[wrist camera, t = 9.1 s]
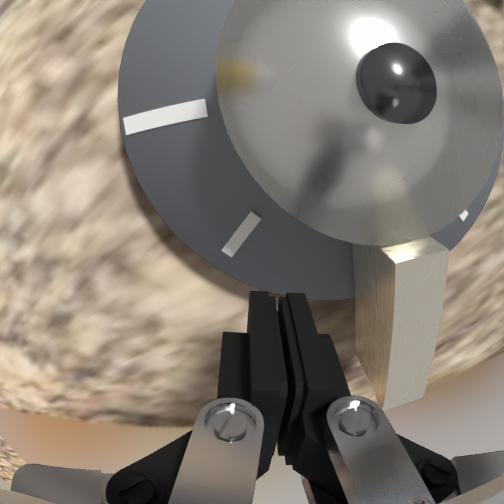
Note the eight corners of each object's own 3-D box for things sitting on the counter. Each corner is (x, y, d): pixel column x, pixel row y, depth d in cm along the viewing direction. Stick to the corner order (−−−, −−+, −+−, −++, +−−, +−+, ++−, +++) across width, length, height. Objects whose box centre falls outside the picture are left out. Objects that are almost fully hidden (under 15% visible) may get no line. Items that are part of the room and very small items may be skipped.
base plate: (454, -37, 8) (468, -44, 7) (482, 254, 15) (497, 264, 14) (114, -38, 8) (104, -50, 7) (176, 310, 15) (171, 327, 14)
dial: (198, -8, 8) (182, -61, 5) (430, -10, 8) (485, -36, 4) (278, 369, 15) (289, 435, 11) (450, 321, 15) (489, 366, 11)
